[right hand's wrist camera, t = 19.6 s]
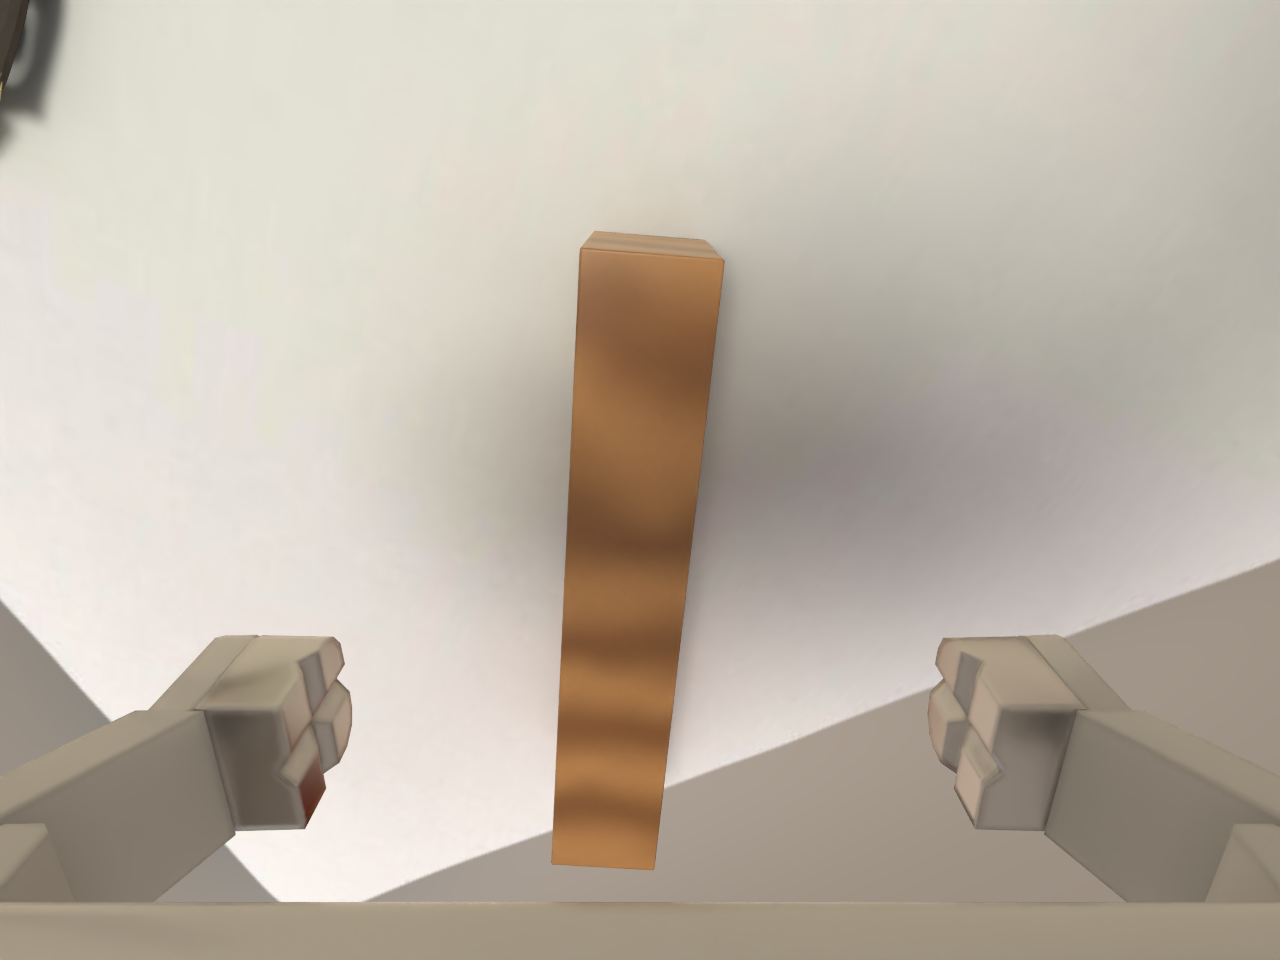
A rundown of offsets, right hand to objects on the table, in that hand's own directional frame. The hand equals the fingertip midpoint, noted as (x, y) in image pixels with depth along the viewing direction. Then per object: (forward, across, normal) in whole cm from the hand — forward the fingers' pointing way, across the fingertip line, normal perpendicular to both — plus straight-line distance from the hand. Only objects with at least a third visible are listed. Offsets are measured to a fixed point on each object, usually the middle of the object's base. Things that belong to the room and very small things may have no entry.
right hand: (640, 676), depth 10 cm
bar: (+25, -1, -10) cm, 27 cm away
